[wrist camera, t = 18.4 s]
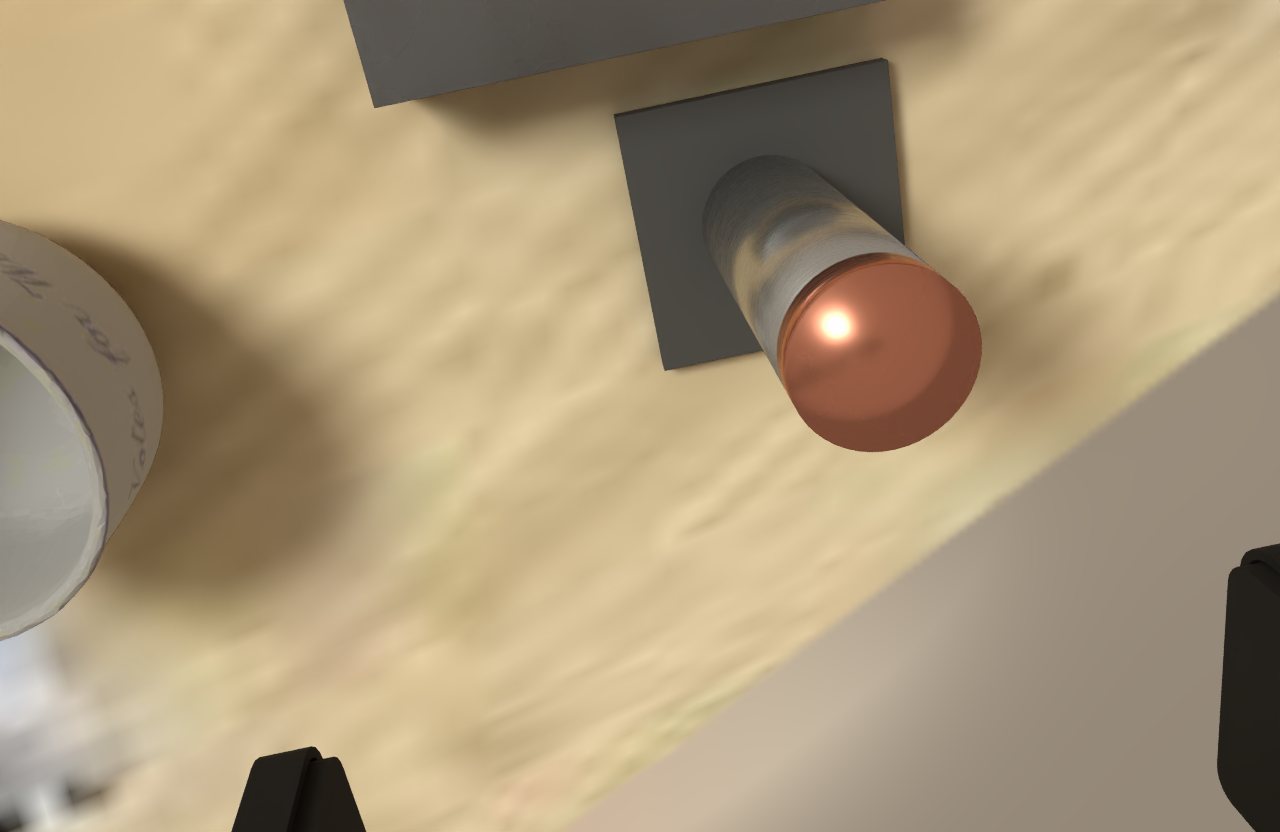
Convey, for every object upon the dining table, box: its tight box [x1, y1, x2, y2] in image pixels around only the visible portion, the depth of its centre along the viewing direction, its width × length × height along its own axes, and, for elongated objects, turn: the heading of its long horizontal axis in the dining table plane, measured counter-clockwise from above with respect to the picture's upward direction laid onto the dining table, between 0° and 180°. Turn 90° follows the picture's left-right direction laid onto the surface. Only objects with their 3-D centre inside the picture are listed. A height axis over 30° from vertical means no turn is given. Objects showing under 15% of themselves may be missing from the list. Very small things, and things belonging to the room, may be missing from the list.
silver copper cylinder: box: [702, 155, 982, 452], centre depth 27 cm, size 4×4×12 cm
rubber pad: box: [614, 58, 905, 371], centre depth 33 cm, size 8×8×1 cm
